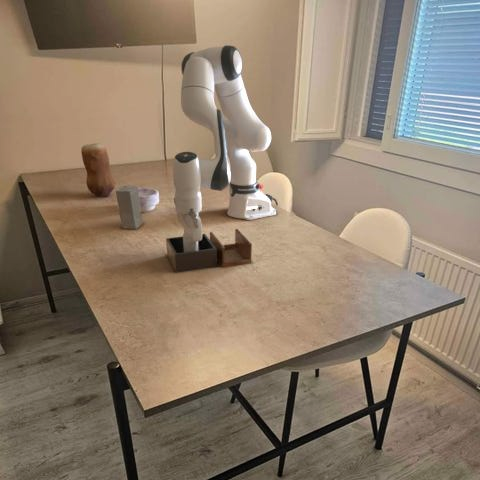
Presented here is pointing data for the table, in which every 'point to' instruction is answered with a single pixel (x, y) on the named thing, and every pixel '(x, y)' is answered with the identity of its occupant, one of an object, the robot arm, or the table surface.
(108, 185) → the butternut squash
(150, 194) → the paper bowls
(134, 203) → the cosmetic box
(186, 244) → the eye dropper bottle
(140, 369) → the table surface
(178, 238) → the dark grey open box
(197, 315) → the table surface
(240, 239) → the wooden shelf
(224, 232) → the table surface
